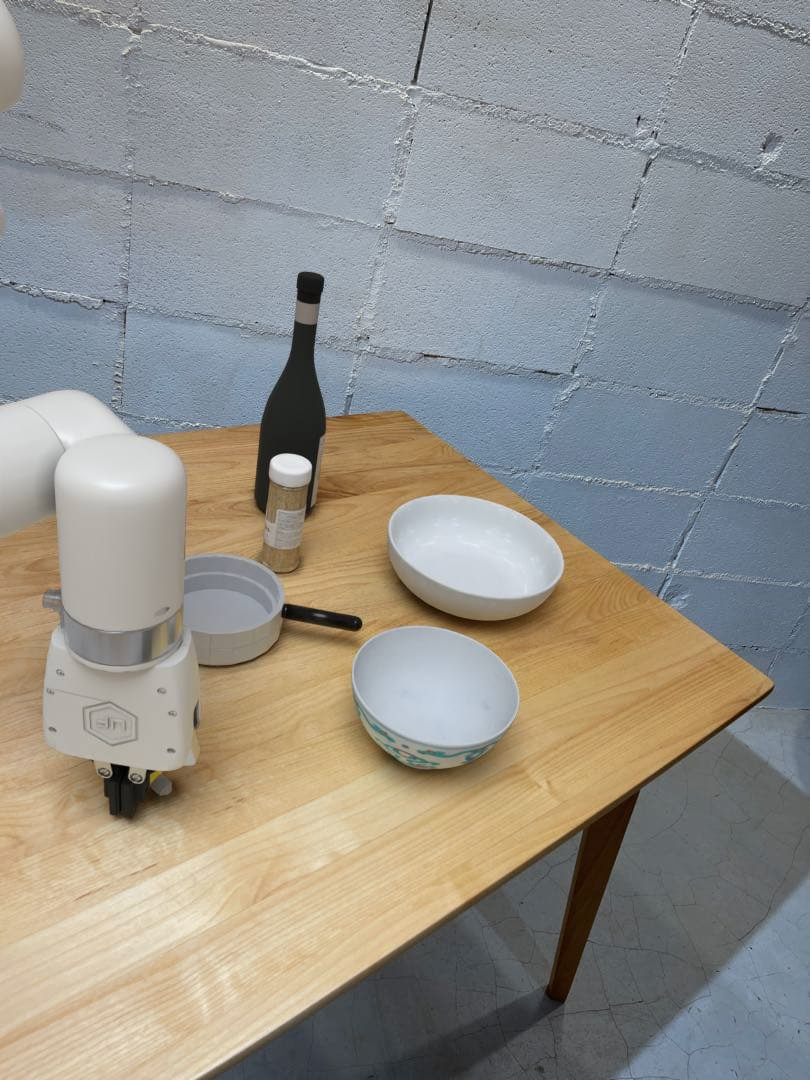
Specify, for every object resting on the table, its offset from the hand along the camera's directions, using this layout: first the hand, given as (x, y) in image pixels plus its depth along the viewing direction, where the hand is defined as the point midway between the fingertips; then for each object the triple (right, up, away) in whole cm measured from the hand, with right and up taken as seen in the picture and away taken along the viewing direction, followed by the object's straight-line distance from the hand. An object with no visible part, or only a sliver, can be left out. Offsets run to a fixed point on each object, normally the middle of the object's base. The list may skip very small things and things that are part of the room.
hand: (127, 801), depth 64 cm
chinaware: (+23, +2, +12) cm, 26 cm away
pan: (+2, +12, +20) cm, 24 cm away
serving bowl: (+29, +15, +34) cm, 47 cm away
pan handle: (+13, +12, +19) cm, 26 cm away
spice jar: (+7, +18, +32) cm, 37 cm away
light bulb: (0, +1, +3) cm, 3 cm away
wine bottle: (+6, +25, +43) cm, 50 cm away
